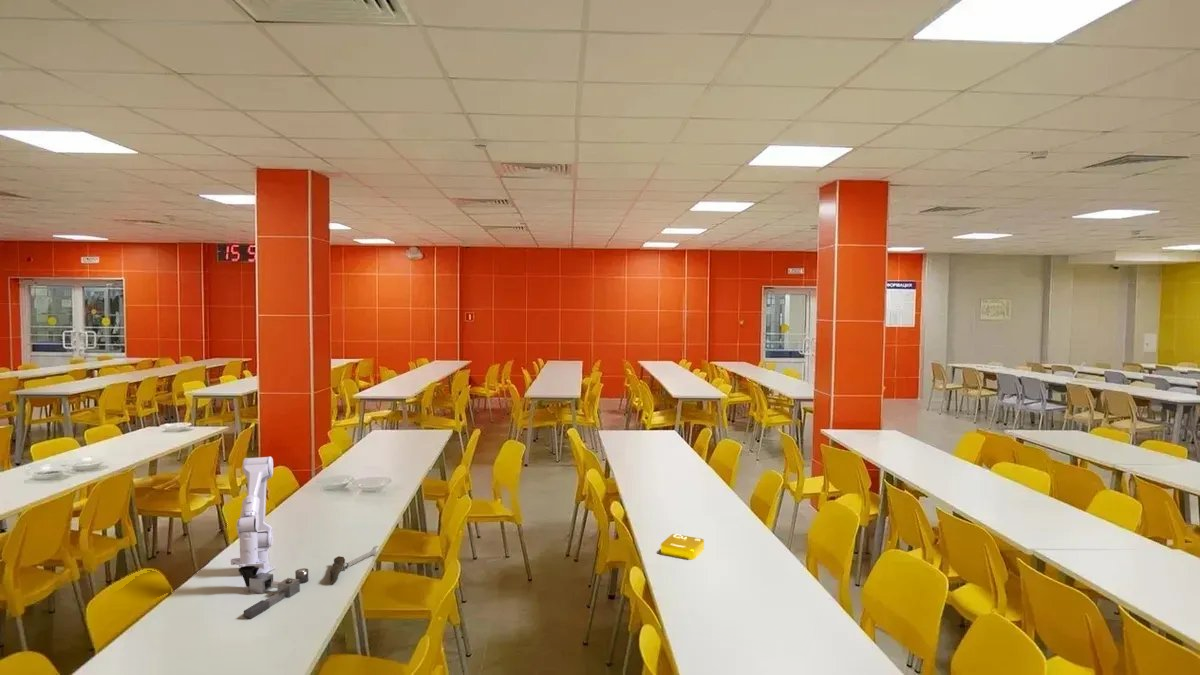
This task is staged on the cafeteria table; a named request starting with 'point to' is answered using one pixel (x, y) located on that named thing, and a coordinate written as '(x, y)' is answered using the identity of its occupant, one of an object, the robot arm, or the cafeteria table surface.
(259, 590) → the grey block
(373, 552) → the combination wrench
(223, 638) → the cafeteria table surface
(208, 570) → the cafeteria table surface
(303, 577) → the socket
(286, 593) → the ratchet
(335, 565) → the rough brown wooden log
